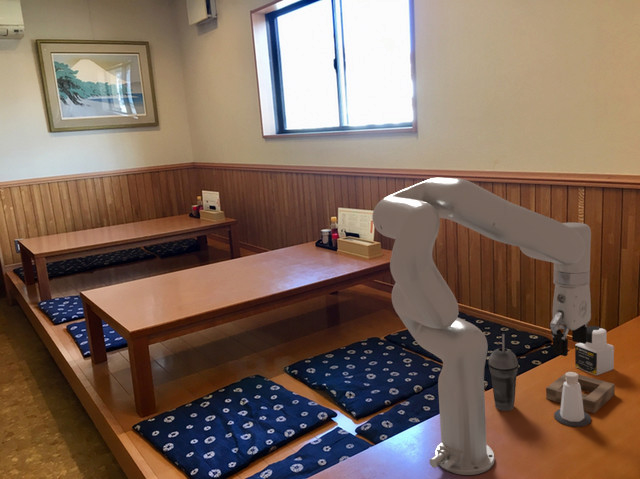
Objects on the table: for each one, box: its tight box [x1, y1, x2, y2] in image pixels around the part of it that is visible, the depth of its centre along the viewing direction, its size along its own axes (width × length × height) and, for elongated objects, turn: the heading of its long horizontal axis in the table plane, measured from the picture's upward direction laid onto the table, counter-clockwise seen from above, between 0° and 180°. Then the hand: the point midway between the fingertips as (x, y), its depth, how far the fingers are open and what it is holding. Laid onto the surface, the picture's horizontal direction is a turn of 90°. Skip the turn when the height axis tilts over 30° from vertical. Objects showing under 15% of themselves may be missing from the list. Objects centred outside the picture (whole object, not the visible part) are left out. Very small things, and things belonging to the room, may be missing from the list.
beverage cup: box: [487, 333, 520, 412], centre depth 137 cm, size 7×7×20 cm
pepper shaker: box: [559, 371, 585, 422], centre depth 130 cm, size 5×5×11 cm
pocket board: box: [545, 371, 616, 414], centre depth 140 cm, size 12×12×3 cm
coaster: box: [554, 408, 592, 428], centre depth 131 cm, size 8×8×1 cm
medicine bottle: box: [574, 325, 615, 376], centre depth 154 cm, size 7×7×12 cm
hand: (569, 348), depth 128 cm, fingers open, 9 cm apart
